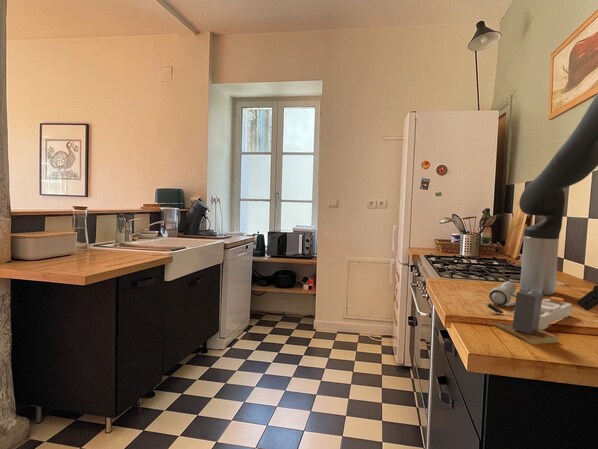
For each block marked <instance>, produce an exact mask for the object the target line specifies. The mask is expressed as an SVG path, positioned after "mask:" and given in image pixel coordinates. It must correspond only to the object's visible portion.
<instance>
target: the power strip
mask: <svg viewBox="0 0 598 449" xmlns="http://www.w3.org/2000/svg"><path fill="white" fill-rule="evenodd" d="M572 305H573V304H572V303H569V302H565V301H564V298H562V297H556V296H551V297H549V298H543V300H542V304H541V311H540V318H539V326H538V330H542V331H545V330H546V329H547V328H549V327H550V326H549V324H550V323H551V322H554V321H556V320H559V319H561V318H563V317H566V316H569V315H571V314H572ZM571 316H572V315H571ZM569 317H570V316H569ZM548 326H549V327H548Z"/></svg>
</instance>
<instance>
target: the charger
mask: <svg viewBox="0 0 598 449" xmlns="http://www.w3.org/2000/svg"><path fill="white" fill-rule="evenodd" d="M516 294H517V295H516V297H515V301H516V303H515V305H514V310H515V311H514V310H513V311H514V312H513V321H512V325H513V328H512V329H515V330H518V331H521V332H524V333H527V334H530V335H531V334H533V333H534V332H536V331H537V330H539V329H538V326H539V318H540V311H541V304H542V296H543V297H544V294H542V293H538V292H534V291H530V290H526V289H523V290H521V289H520V290H519V291H517V292H516Z"/></svg>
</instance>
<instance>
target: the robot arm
mask: <svg viewBox="0 0 598 449" xmlns="http://www.w3.org/2000/svg"><path fill="white" fill-rule="evenodd" d="M597 167H598V92H597V93H596V95H595V96H594V98H593V99H592V102H591V103H590V104H589V106H588V108H587V110H586V111H585V113H584V114H583V116H582V118H581V119H580V121H579V122H578V124H577V126H576V127H575V128H574V130H573V131H572V133H571V134H570V135H569V137H568V138H567V139H566V141H565V142H564V143H563V144H562V146H560V148H559V149H558V150H557V152H555V154H554V155H553V156H552V158H551V160H550V161H549V162H548V164H547V165H546V166H545V167H544V169H543V170H542V171H541V172H540V173H539V175H537V176H536V178H534V180H532V181H531V182H530V183H529V184H528V185H527V186H526V187H524V188H525V189H523V191H522V193H521V195H520V197H519V202H518V203H519V209H520V210H521V212H522V213H523V214H525V215H529V216H543V219H542V220H541V221H540V222H538V223H535V224H532V225H530V226H526V227H525V228H524V230H523V242H522V243H523V244H522V255H521V269H520V271H521V272H520V281H519V290H520V291H521V290H523V289H526V290H528V289H531V290H532V291H534V292H542V290H544V294H543V296H544V295H546V296H547V295H549V296H550V295H554V294H555V290H556V279H557V278H556V277H557V270H558V269H557V267H558V258H559V257H558V254H559V244H560V243H559V241H560V234H561V231H562V227H563V218H564V211H565V206H566V205H565V203H566V193H565V190H564V189H565V188H569V187H570V186H573V185H575V184H578V183H580V182H581V181H583V180H584V179H586V178H587V177H588V176H589V175H591V173H592V172H593V171H594V170H595V169H596V168H597ZM577 304H578V305H579V306H580V307H581V308H582V309H583V310H584V311H591V310H592V309H593V308H595V307H596V306H598V285H597V284H596V285H594V286H593V288H592V290H591V291H589V292H588V293H586V294H585V295H584V296H582V297H581V298H579V299H578V300H577Z"/></svg>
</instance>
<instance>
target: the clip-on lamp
mask: <svg viewBox="0 0 598 449" xmlns="http://www.w3.org/2000/svg"><path fill="white" fill-rule="evenodd" d="M516 290H517V286H516V285H515V283H514V282H513V281H509V280H507V281H504V282H503V283H501V285H499V286H495V287H493V288H492V289H491V290H490V291H489V293H488V294H489V295H488V296H489V300H490V301H491V302H489V303H486V302H484V305H486V306H487V308H488V309H491V311H494V312H495V313H497V312H499V313H504V311H503V310H501V309H500V308H499V307H496V306H498V305H500V307H503V306H504V307H505V306H506V307H511V306H515V303H516V300H515V301H512V302H511V299H512V297H514V298H516V295H517V293H515V292H516ZM528 290H530V291H532V290H531V289H528ZM538 293H542V294H543V296H542V300H544V290H542V292H538ZM493 304H494V305H493ZM514 311H515V309H513V311H511V312H510V314H509V315H511V314H514Z"/></svg>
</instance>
